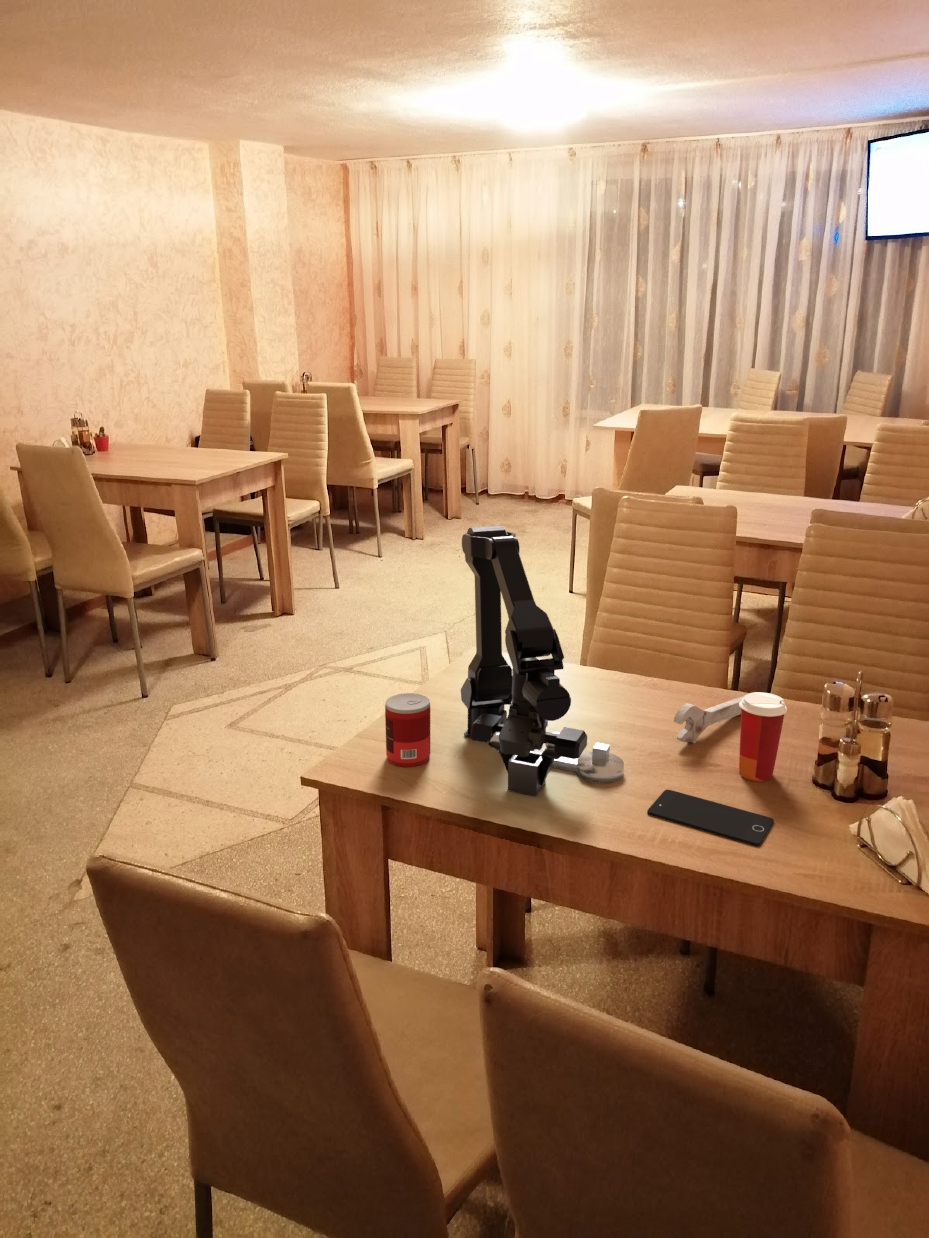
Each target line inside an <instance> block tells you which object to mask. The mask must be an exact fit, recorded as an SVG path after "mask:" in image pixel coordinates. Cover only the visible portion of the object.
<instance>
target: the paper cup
mask: <svg viewBox="0 0 929 1238" xmlns="http://www.w3.org/2000/svg"><path fill="white" fill-rule="evenodd" d="M743 696H744V697H743V698H742V700H741V702H739V706H740V707H741V708H742V709H741V714H740V730H739V731H740V733H739V734H740V735H739V736H740V737H739V756H738V757H739V758H738V760H739V761H738V762H739V763H738V773H739V775H740V777H742V778H744V779H746V780H749V781H752V782H767V781H770V780H772V778H773V775H774V770H775V766H776V765H775V764H776V760H777V755H778V750H779V745H780V739H781V733H782V729H783V723H784V719H785V714H787V711H788V708H787V706H786V703H785V700H784V699H783V698H782V697H781V696H779V695H776V694H774V693H770V692H769V693H768V692H762V691H761V692H760V691H759V692H758V691H757V692H756V691H754V692H749V693H746V694H745V695H743Z"/></svg>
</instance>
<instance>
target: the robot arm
mask: <svg viewBox="0 0 929 1238" xmlns="http://www.w3.org/2000/svg"><path fill="white" fill-rule="evenodd" d="M516 535H517V534H516V533H515V532H511V531H506V528H505V527H504V526H503V525H493V526H491V525H490V526H477V527H468V529H467V531H466V532H465V534H462V537H461V548H462V551H463V554H464V559H465V562H466V564H467V566H468V568H469V569H470V571H471V572H472V573H473V576H474V602H475V603H474V604H475V606H474V607H475V609H474V610H475V640H476V641H475V644H476V645H475V646H476V649H475V650H476V653H475V655H474V656H473V658H472V660H471V662H470V663H469V664H468V666H467V668H468V669H467V678H466V679H465V681H464V683H463V685H462V686H461V687H460V698H461V699H460V700H461V702H462V703H463V704H464V705H465V707H466V709H467V729H466V731H464V733H463V736H464V737H468V738H469V739H470V740H471V741H475V742H480V743H485V744H486V743H488V747H490V748H492V749H494V750H496V751H497V752H498V753H499V755H500V757H501V759H502V762H503V764H504V767H505V770H506V772H507V774H508V761H509V760H510V758H511V757H512V756H513V755H518V756H519V757H526V756H528V755H529V754H530V751H534V750H535V749H536V750H541V748H542V747H543V746H544V745H545V748H546V749H545V750H544V752H543V753H542V754H541V757H542V766H541V774H540V785H543V784H544V782H545V780H546V779H547V777H548V775H549V773H550V770H551V768H552V767H551V766H552V763H553V761H554V759H559V758H560V757H566V758H571V759H577V758H579V757H580V755H582V754H583V752H584V750H585V749H586V747H587V746H588V734H587V733H586V732H585V729H584V730H583V729H577V728H573V727H572V728H571V727H567V726H564V727H562V729H561V731H560V732H558V731H554V732H553V731H552V732H550V731H547V727H548V725H549V724H548V723H549V722H553V721H557V720H560V719H562V718H563V717H564V716H565V715H567V713H568V711H569V710H570V707H571V705H572V697H571V695H570V692H569V691H568V690H567V689H566V688H565V687H564V686H563V685H562V684H561V683H560V682H561V679H560V677H558V676H557V674H555V671H558V670H559V671H560V670H564V668H565V667H564V662H563V660H564V659H565V655H564V652H563V648H562V645H561V643H560V642H561V641H560V639H559V635H558V633H557V631H556V629H555V627H554V626H553V625H552V622H551V619H550V618H549V616H548V613H546V612H545V611H544V610H543V609H542V608H541V607H540V606H538V605H537V604H536V603H537V602H536V601H535V598H534V596H533V591H532V589H531V586H530V583H529V581H528V577H527V574H526V571H525V568H524V565H523V562H522V558H521V556H520V542H519V540H518V538H517V536H516ZM502 601H503V602H504V607H505V609H506V612H507V616H508V622H507V625H506V627H505V630H504V633H505V636H504V640H505V647H506V651H507V654H508V657H509V660H510V663H511V665H512V667H511V665H509V664H508V662H507V660H506V659H505V657H504V655H503V652H502V651H503V646H502V645H503V640H502V637H503V636H502V631H503V630H502ZM550 655H551V658H543V659H542V657H549V656H550ZM539 658H541V659H539ZM506 705H509V709H508V711H507V710H506V709H505V706H506ZM507 714H508V715H507ZM546 781H547V780H546ZM544 785H545V784H544Z"/></svg>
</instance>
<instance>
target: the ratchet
mask: <svg viewBox="0 0 929 1238" xmlns="http://www.w3.org/2000/svg"><path fill="white" fill-rule="evenodd" d="M610 748H611V745H610V744H609V743H608V744H607V743H603V742H595V744H594V745H593V747H592V751H589V752H585V753H582V754H581V755H580V757H579V758H577V759H571V758H566V757H560V758H559V759H554V761H553V763H552V766H551V768H553V769H559V770H564V771H569V772H574V773H577V775H578V777H580V778H581V779H583V780H585V781H587V782H591V783H595V784H612V783H615V782H618V781H620V780H621V779H622V778H623V776H624V768H625V767H624V765H625V763H624V760H623V759H622V758H621V757H620V756H619V755H617V754H613V753H611V752H610ZM545 749H546V747H543V746H542V748H541V750H536V749H535V750H534V752H540V753H543V752H544V750H545Z"/></svg>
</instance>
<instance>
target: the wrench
mask: <svg viewBox="0 0 929 1238" xmlns="http://www.w3.org/2000/svg"><path fill="white" fill-rule="evenodd" d="M744 696H745V695H742V696H739V697H735V698H734V699H733V698H732V699H731V700H728V701H725V702H722V703H719V704H717V705H713V706H711V707H708V708H706V709H702V708H700V707H698V706H697V705H694V704H691V703H689V702H688V703H687V702H686V703H684V704H682V705H681V706H680V707H679V708H678V709H677V711H676V713H675V715H674V718H673V723H675V724H679V725H683V723H684V722H685V726H684V728H682V730H680V731H679V732H678V733H677V734H676V736H675V737H676V740H677V741H680V742H683V743H688V742H689V743H692V744H694V743H695V744H696V742H697V741H698V738H699V737H700V735H701V734H702V733H703V732H704V730H706V729H707V728H708V727H710V726H712V725H714V724H717V723H719V722H722V721H725V720H728V719H731V718H733V717H737V716H739V715H740V716H741V709H742V708H741V707H740V706H739V702H741V700H742V698H743V697H744Z"/></svg>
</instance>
